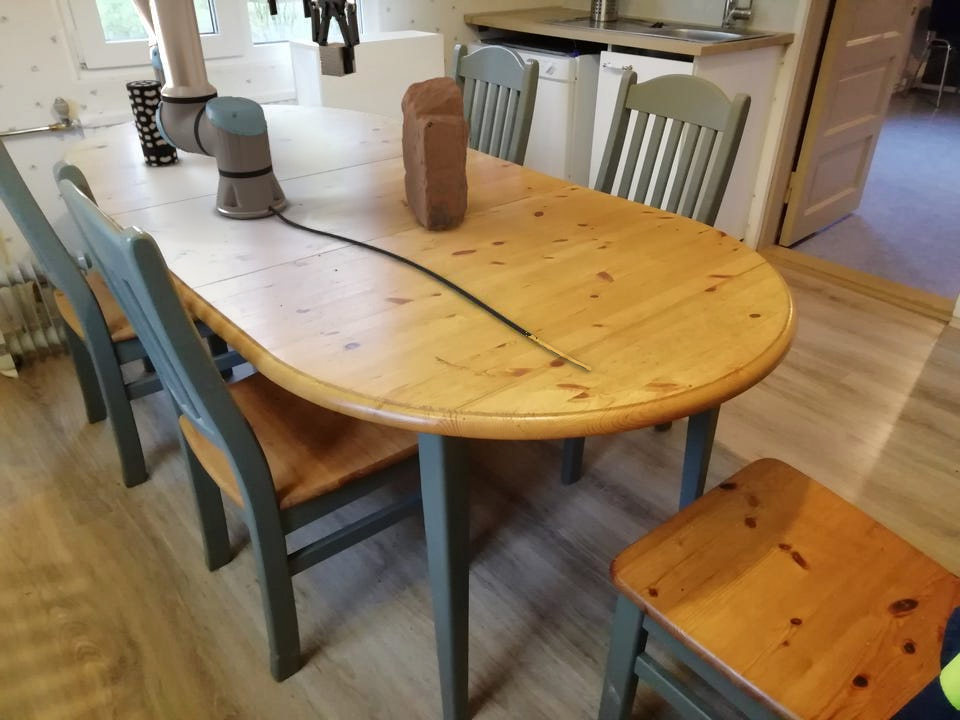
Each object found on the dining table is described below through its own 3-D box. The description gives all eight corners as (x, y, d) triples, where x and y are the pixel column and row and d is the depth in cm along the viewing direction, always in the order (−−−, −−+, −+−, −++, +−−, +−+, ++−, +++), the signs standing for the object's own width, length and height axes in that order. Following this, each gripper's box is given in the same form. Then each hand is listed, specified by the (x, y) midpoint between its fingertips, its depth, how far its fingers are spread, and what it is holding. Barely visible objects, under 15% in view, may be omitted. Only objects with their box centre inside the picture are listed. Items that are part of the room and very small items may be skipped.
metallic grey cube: (356, 72, 191) (353, 43, 187) (341, 76, 185) (338, 47, 181) (337, 70, 193) (334, 42, 189) (321, 74, 187) (318, 45, 183)
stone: (478, 228, 148) (477, 89, 134) (427, 234, 145) (421, 93, 131) (450, 199, 166) (446, 74, 151) (404, 203, 163) (396, 76, 148)
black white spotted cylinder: (184, 157, 190) (167, 80, 179) (169, 166, 183) (151, 87, 172) (155, 156, 190) (136, 79, 179) (139, 165, 183) (119, 86, 172)
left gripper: (322, -61, 209) (329, 17, 221) (257, -62, 218) (267, 12, 229) (307, -60, 203) (315, 19, 215) (241, -62, 212) (252, 15, 224)
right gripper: (369, -24, 176) (376, 73, 188) (307, -27, 183) (318, 66, 195) (353, -22, 170) (360, 77, 183) (289, -25, 177) (301, 71, 189)
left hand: (291, 16), depth 222 cm, fingers open, 13 cm apart
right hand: (338, 72), depth 189 cm, fingers closed on metallic grey cube, 6 cm apart
